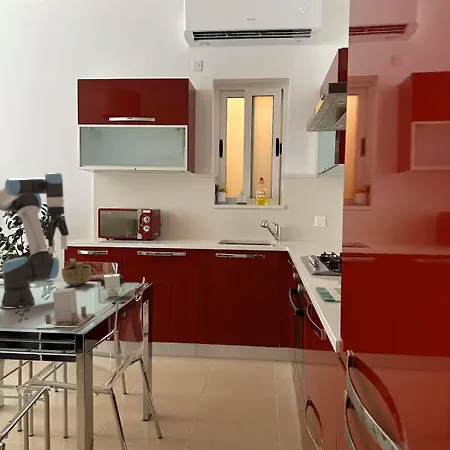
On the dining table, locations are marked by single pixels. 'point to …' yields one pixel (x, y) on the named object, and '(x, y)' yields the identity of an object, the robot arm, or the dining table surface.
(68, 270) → the tan woven basket
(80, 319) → the stub plate
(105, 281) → the pneumatic valve
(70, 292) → the supplement box
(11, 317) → the dining table surface
